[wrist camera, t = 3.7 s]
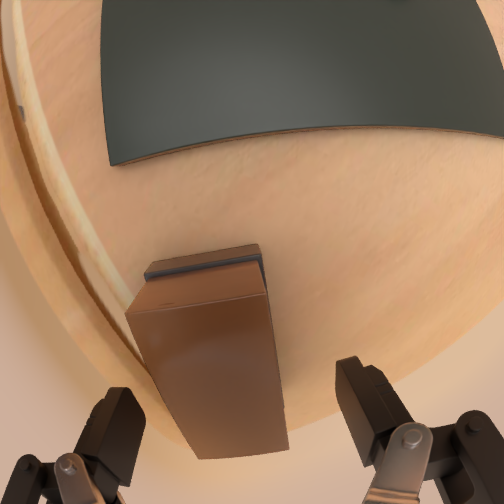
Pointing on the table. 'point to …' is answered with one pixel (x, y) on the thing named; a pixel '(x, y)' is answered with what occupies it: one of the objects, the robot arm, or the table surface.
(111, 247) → the table surface
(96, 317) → the table surface
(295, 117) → the slate board
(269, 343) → the eraser
